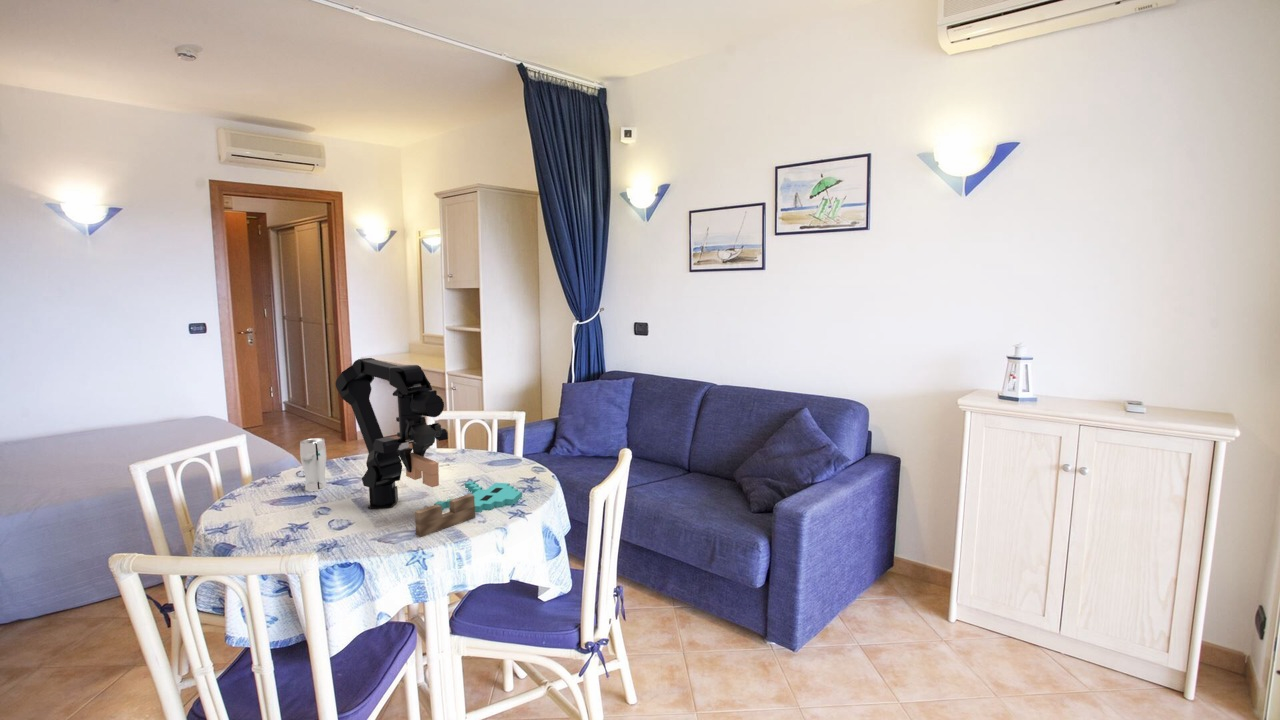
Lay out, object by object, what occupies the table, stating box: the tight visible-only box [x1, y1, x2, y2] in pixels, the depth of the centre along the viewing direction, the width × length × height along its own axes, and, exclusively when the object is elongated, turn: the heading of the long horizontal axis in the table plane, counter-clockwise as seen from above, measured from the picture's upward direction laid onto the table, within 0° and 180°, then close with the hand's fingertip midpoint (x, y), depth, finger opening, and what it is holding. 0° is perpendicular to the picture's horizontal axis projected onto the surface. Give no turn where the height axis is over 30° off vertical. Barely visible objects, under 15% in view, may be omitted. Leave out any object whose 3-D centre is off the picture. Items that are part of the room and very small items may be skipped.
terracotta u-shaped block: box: [405, 451, 440, 488], centre depth 163 cm, size 12×2×6 cm, turn 51°
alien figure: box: [433, 480, 523, 513], centre depth 178 cm, size 20×2×20 cm
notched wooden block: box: [414, 493, 476, 538], centre depth 158 cm, size 16×2×6 cm, turn 141°
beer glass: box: [299, 437, 328, 493], centre depth 190 cm, size 7×7×15 cm
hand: (413, 471), depth 166 cm, fingers closed on terracotta u-shaped block, 2 cm apart
